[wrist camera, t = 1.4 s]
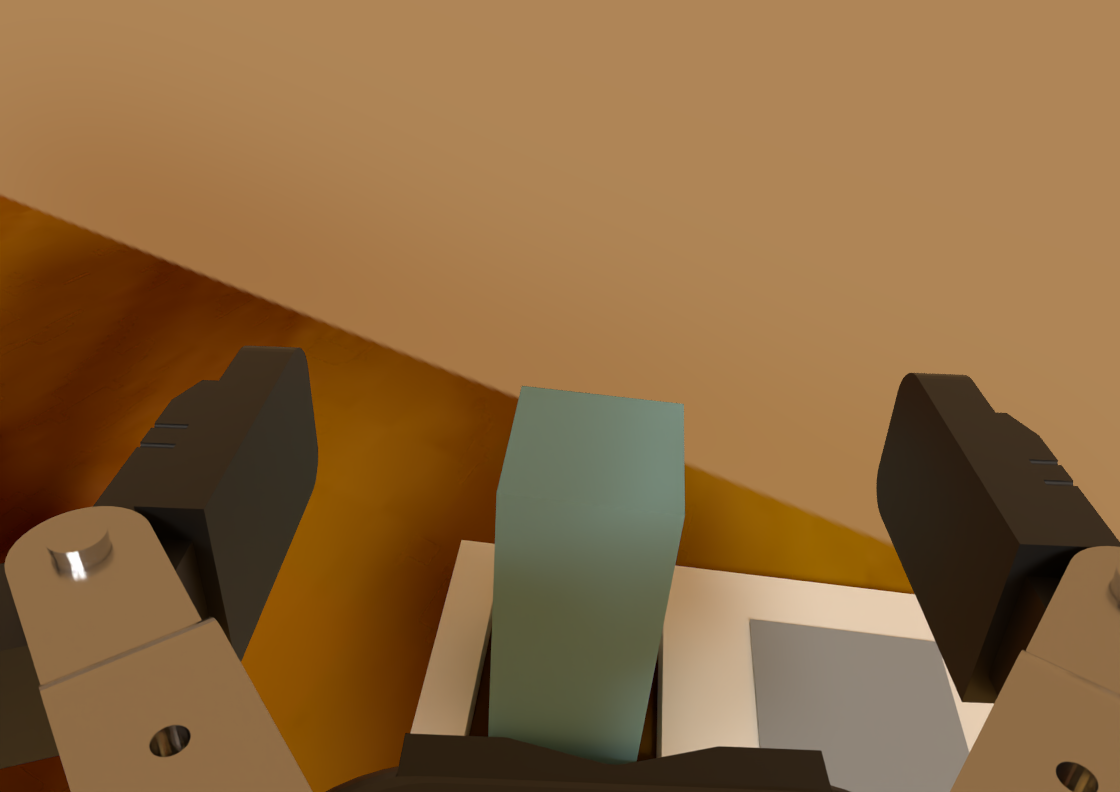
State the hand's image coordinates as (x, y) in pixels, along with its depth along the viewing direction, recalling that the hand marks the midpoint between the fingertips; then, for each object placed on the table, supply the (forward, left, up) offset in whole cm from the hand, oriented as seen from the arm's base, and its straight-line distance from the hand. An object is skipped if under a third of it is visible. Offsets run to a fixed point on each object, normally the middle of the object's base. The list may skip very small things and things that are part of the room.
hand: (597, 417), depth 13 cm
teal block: (0, +11, -21) cm, 24 cm away
